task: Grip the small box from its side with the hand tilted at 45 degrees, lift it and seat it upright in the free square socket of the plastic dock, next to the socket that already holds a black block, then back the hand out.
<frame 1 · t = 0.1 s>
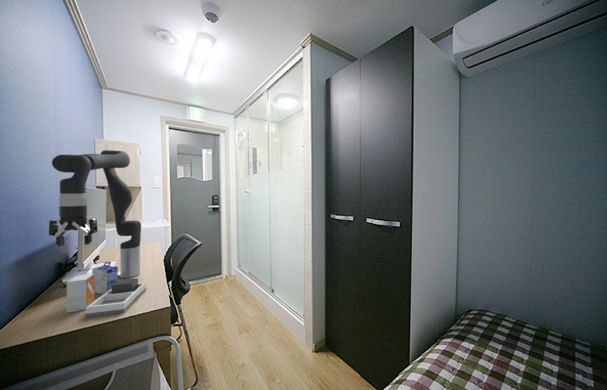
hand: (74, 245, 85), 29 cm above the table, tool pointing down, fingers open, 8 cm apart
ink cartridge box: (105, 291, 108), on the table
small box: (81, 307, 93), on the table
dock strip: (119, 302, 97), on the table
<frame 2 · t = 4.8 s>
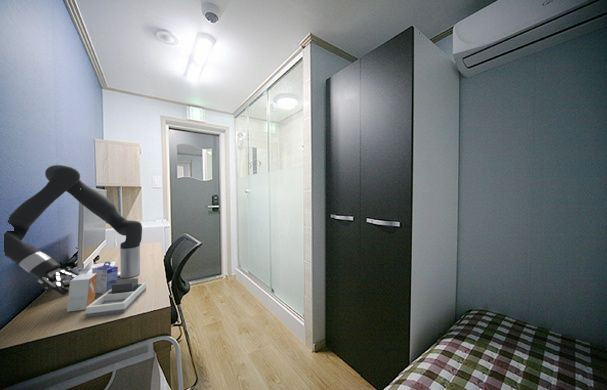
hand: (74, 288, 92), 8 cm above the table, tool tilted 45°, fingers open, 8 cm apart
small box: (81, 306, 93), on the table, touching gripper
everything else where it was.
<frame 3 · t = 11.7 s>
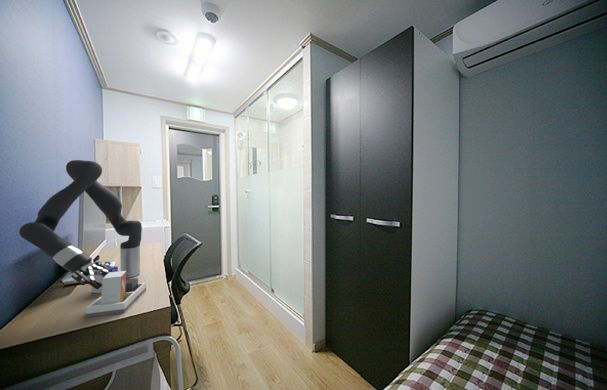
hand: (106, 283, 92), 11 cm above the table, tool tilted 45°, fingers open, 8 cm apart
small box: (113, 304, 92), point 1 cm above the table, touching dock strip, gripper
everything else where it was.
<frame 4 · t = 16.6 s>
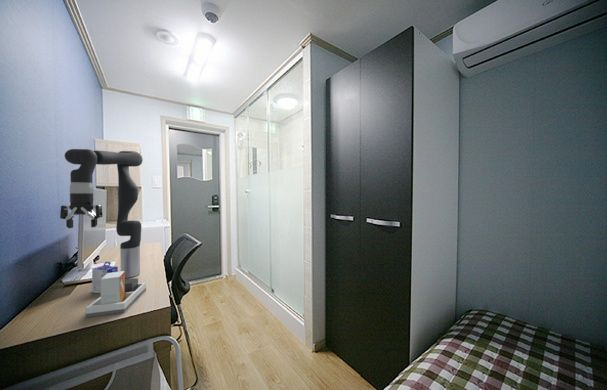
hand: (82, 227, 98), 34 cm above the table, tool pointing down, fingers open, 8 cm apart
small box: (113, 304, 92), point 1 cm above the table, touching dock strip
everything else where it was.
at the end: small box 0.0 cm from the target spot on the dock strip, point 1.3 cm above the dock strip's base; small box tilted 0°; the gripper is holding nothing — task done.
